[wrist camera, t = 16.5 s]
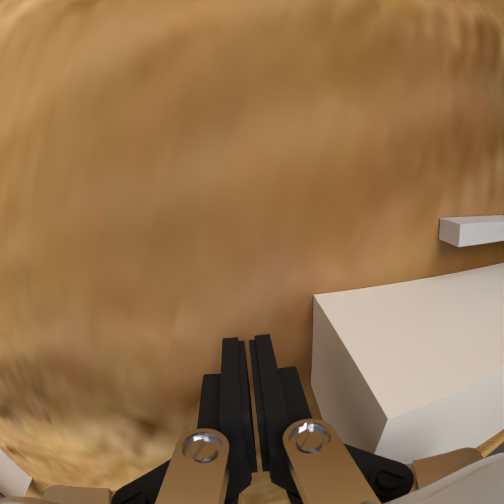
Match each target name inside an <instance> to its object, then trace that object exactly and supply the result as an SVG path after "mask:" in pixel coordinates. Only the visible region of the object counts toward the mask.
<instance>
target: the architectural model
mask: <svg viewBox="0 0 504 504" xmlns="http://www.w3.org/2000/svg"><path fill="white" fill-rule="evenodd" d="M31 480H32V478H31V477H30V476H29V475H27V474H26V473H25V472H24V471H23V470H22V469H21V468H20V467H18V466H17V465H16V464H15V463H14V462H13V461H12V460H11V459H10V458H9V457H8V456H7V455H6V454H5V453H4V452H3V451H2V450H1V449H0V499H1V498H4V497H15V496H18V497H24V496H25V493H26V491H27V489H28V487H29V485H30V482H31Z"/></svg>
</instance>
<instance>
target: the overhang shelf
mask: <svg viewBox="0 0 504 504" xmlns="http://www.w3.org/2000/svg"><path fill="white" fill-rule="evenodd" d="M439 239H440V240H442V241H445V242H447V243H450V244H452V245H455V246H457V247H463V246H470V245H477V244H484V243H491V242H498V241H504V215H493V216H471V217H451V218H440V228H439Z"/></svg>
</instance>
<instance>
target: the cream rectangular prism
mask: <svg viewBox="0 0 504 504" xmlns="http://www.w3.org/2000/svg"><path fill="white" fill-rule="evenodd" d="M311 387H312V390H313V393H314V395H315V398H316V401H317V404H318V407H319V410H320V413H321V416H322V419H323V421H325V422H327V423H328V424H330V425H331V426H332V427H333V428H334V429H335V431H336V432H337V434H338V436H339V437H340V439H341V441H342V442H343V443H345V444H348V445H350V446H353V447H356V448H358V449H361V450H364V451H367V452H370V453H373V454H376V455H379V456H382V457H385V458H388V459H391V460H395V461H398V462H401V463H403V464H411V463H412V461H413V460H418V459H423V458H427V457H431V456H436V455H440V454H443V453H447V452H451V451H454V450H458V449H461V448H467V447H470V448H476V447H478V446H479V445H481V444H482V443H484V442H485V441H487V440H488V439H490V438H491V437H493V436H494V435H496V434H497V433H499V432H500V431H501V430H503V429H504V263H500V264H496V265H491V266H486V267H482V268H477V269H472V270H467V271H462V272H457V273H452V274H447V275H441V276H436V277H430V278H425V279H419V280H413V281H407V282H401V283H395V284H388V285H382V286H375V287H368V288H361V289H354V290H347V291H340V292H332V293H324V294H316V295H313V344H312V369H311Z"/></svg>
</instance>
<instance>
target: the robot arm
mask: <svg viewBox="0 0 504 504" xmlns="http://www.w3.org/2000/svg"><path fill="white" fill-rule="evenodd" d="M249 345H250V355H251V365H252V375H253V385H254V394H255V404H256V413H257V423H258V432H259V441H260V450H261V459H262V468H263V472H264V471H270V479H271V481H272V483H274V484H276V485H278V486H280V487H281V488H283V491H284V494H285V497H286V500H287V502H288V504H504V453H499V454H496V455H493V456H489V457H487V458H484V459H483V456H482V455H481V453H480V452H479V451H478V450H476V449H475V448H470V447H467V448H461V449H458V450H454V451H451V452H447V453H443V454H440V455H436V456H431V457H427V458H423V459H418V460H413V461H412V463H411V464H403V463H401V462H398V461H395V460H391V459H388V458H385V457H382V456H379V455H376V454H373V453H370V452H367V451H364V450H361V449H358V448H356V447H353V446H350V445H348V444H345V443H343V442H342V441H341V439H340V437H339V436H338V434H337V432H336V431H335V429H334V428H333V427H332V426H331V425H330V424H328V423H327V422H325V421H322V420H318V419H312V417H311V414H310V411H309V407H308V404H307V401H306V398H305V395H304V391H303V388H302V385H301V382H300V379H299V375H298V372H297V369H296V367H295V366H294V367H286V368H278V369H277V364H276V360H275V355H274V351H273V347H272V342H271V338H270V334H267V335H257V336H255V340H249ZM253 472H258V471H257V461H256V450H255V440H254V429H253V418H252V407H251V396H250V387H249V379H248V370H247V361H246V352H245V343H244V341H238V337H235V338H223V343H222V363H221V374H205V375H204V377H203V383H202V392H201V400H200V409H199V417H198V427H197V429H196V430H192V431H190V432H188V433H186V434H184V435H183V436H182V437H181V438H180V439H179V441H178V442H177V444H176V447H175V450H174V453H173V455H172V458H171V459H170V460H168V461H167V462H165V463H164V464H162V465H160V466H159V467H157V468H155V469H154V470H152V471H150V472H149V473H147V474H145V475H143V476H142V477H140V478H138V479H136V480H134V481H133V482H131V483H129V484H127V485H125V486H123V487H122V488H120V489H119V490H117V491H111V490H110V489H109V488H85V487H72V486H62V485H54V486H51V487H49V488H48V489H47V490H46V491H45V492H44V494H43V497H42V499H38V498H32V497H18V496H15V497H4V498H1V499H0V504H241V497H242V491H243V490H244V489H246V488H247V487H248V486H249V485H250V484H251V481H252V476H251V473H253Z"/></svg>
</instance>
